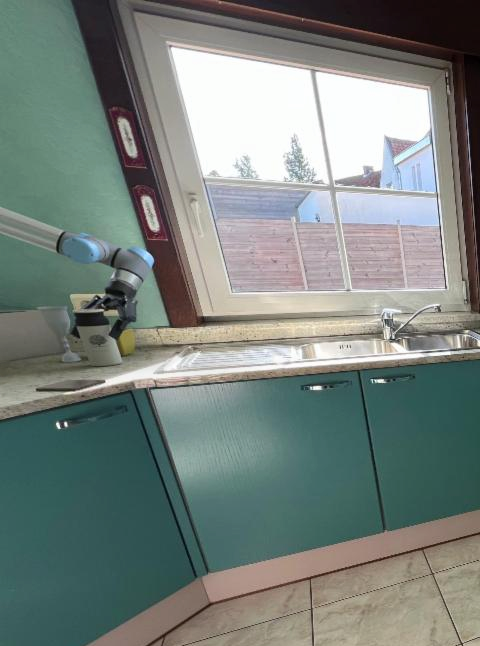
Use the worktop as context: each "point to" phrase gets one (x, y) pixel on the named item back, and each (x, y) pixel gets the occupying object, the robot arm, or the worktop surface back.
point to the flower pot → (126, 342)
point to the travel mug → (97, 337)
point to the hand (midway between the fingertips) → (94, 336)
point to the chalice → (59, 327)
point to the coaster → (70, 385)
